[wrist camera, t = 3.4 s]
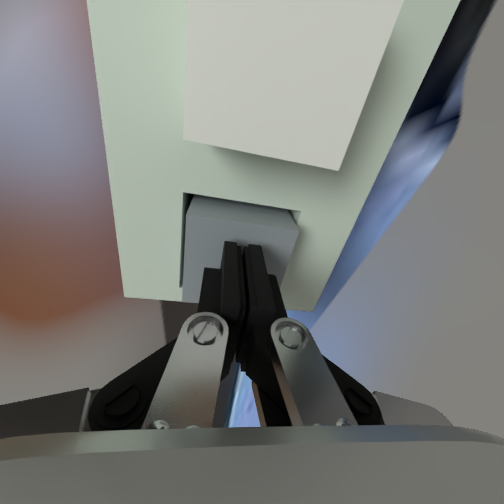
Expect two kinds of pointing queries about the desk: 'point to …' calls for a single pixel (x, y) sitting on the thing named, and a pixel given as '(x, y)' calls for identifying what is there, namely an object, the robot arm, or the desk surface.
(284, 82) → the white key
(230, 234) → the slate key
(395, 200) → the desk surface
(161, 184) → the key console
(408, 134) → the desk surface
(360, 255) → the desk surface
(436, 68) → the desk surface
